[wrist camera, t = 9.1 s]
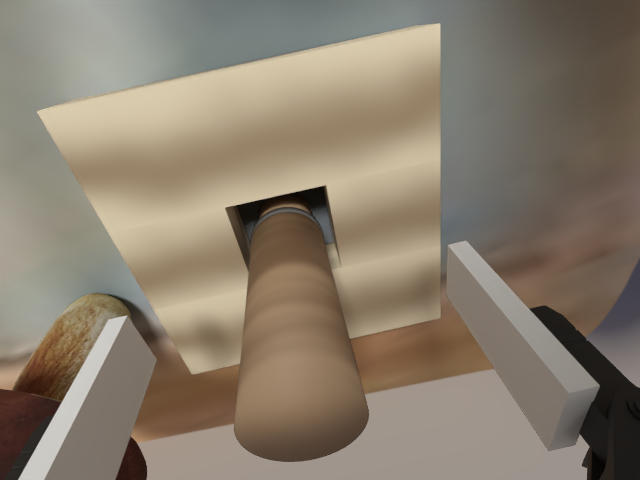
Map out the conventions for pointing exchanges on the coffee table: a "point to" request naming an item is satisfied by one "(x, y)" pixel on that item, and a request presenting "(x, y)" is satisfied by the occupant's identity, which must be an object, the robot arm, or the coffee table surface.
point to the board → (270, 180)
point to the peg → (295, 344)
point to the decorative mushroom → (59, 380)
